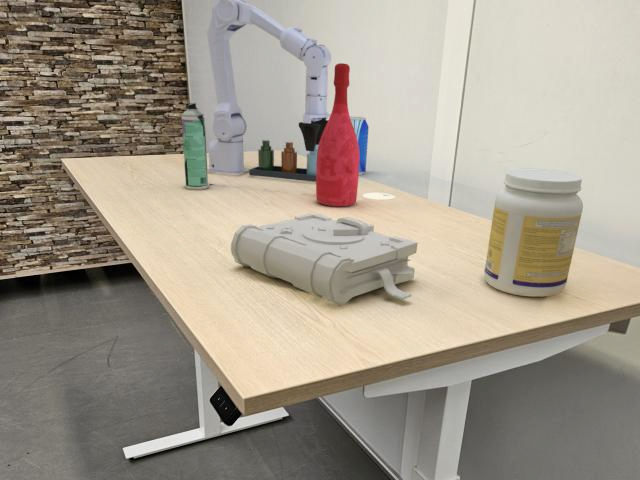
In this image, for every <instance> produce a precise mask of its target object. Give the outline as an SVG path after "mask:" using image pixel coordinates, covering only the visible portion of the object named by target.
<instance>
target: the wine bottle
mask: <svg viewBox="0 0 640 480" xmlns="http://www.w3.org/2000/svg"><path fill="white" fill-rule="evenodd" d="M350 67H351V66H350V65H349V64H348V63H343V62H342V63H341V62H339V63H336V64H335V66H334V76H333V87H334V91H335V92H334V99H333V105H332V109H331V113H330V114H331V115H330V117H328V119H327V120H328V123H327V125H326V127H325V129H324V131H323V134H322V136H321V139H320V142H319V146H318V150H317V163H316V182H315V198H316V201H317V202H318V203H319V204H322V205H324V206H327V207H328V206H329V207H349V206H352V205H354V204H355V203H356V201H357V197H358V188H359V176H360V175H359V160H360V153H359V145H358V141H357V137H356V134H355V131H354V128H353V125H352V122H351V119H350V112H349V106H348V104H349V103H348V88H349V86H350V70H351V68H350Z"/></svg>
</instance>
